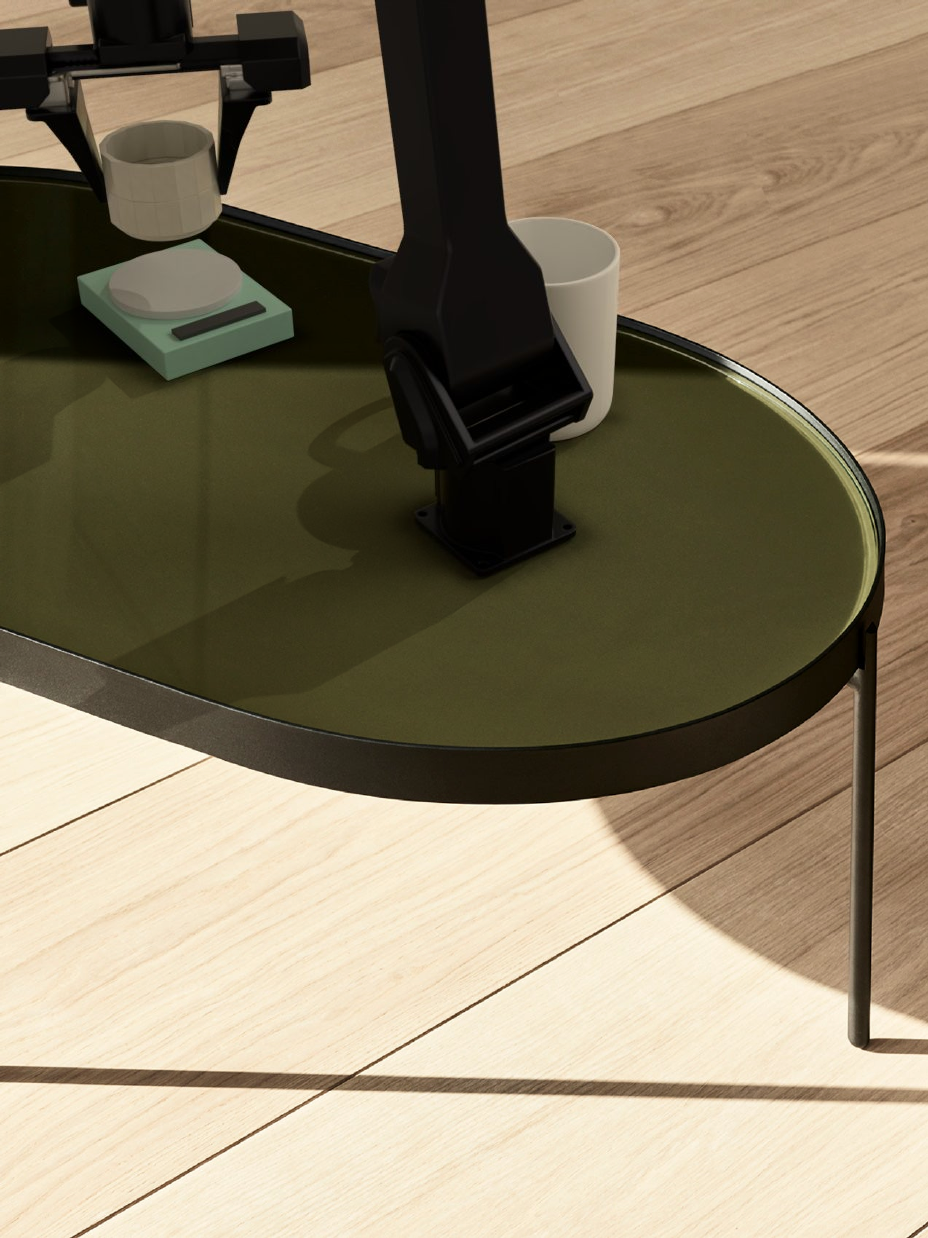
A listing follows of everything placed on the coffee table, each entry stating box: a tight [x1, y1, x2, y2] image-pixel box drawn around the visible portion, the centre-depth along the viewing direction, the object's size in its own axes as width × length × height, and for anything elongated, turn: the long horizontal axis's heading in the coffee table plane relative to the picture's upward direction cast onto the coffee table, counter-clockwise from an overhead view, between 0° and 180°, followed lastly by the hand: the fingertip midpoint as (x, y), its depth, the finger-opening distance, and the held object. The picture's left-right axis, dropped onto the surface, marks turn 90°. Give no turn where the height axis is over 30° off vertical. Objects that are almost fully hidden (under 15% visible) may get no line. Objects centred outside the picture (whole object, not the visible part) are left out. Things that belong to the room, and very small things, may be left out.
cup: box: [507, 216, 621, 442], centre depth 97 cm, size 8×12×10 cm
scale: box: [76, 238, 295, 381], centre depth 107 cm, size 12×9×3 cm
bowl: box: [98, 119, 223, 242], centre depth 102 cm, size 7×7×5 cm
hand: (164, 196), depth 103 cm, fingers closed on bowl, 7 cm apart
